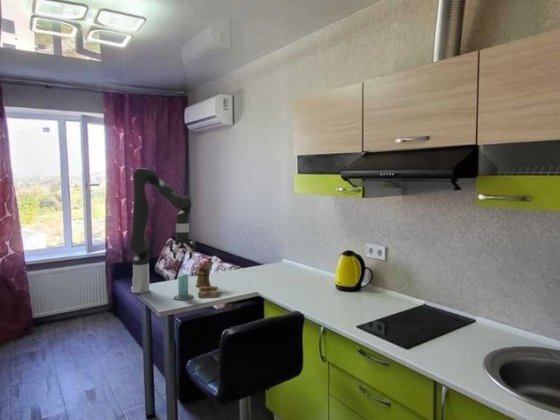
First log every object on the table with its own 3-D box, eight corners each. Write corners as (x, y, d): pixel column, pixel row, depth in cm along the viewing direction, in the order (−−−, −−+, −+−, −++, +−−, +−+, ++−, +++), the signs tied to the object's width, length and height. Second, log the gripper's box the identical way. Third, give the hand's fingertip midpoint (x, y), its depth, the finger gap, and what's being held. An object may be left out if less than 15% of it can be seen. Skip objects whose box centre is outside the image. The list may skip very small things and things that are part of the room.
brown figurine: (204, 290, 241) (204, 261, 240) (193, 285, 251) (193, 258, 250) (216, 287, 247) (216, 259, 246) (205, 283, 257) (205, 256, 256)
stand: (198, 297, 227) (198, 292, 226) (199, 291, 238) (199, 287, 237) (217, 296, 228) (217, 291, 228) (217, 291, 239) (217, 286, 239)
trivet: (172, 300, 220) (172, 299, 220) (175, 295, 231) (175, 294, 231) (192, 300, 221) (192, 299, 221) (194, 294, 232) (194, 293, 232)
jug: (179, 295, 228) (178, 273, 227) (188, 295, 229) (188, 273, 228) (177, 299, 220) (177, 277, 219) (187, 299, 221) (187, 276, 220)
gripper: (195, 230, 228) (195, 257, 230) (170, 230, 227) (171, 257, 228) (194, 231, 221) (194, 259, 222) (168, 231, 219) (169, 260, 221)
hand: (182, 258), depth 225 cm, fingers open, 8 cm apart
